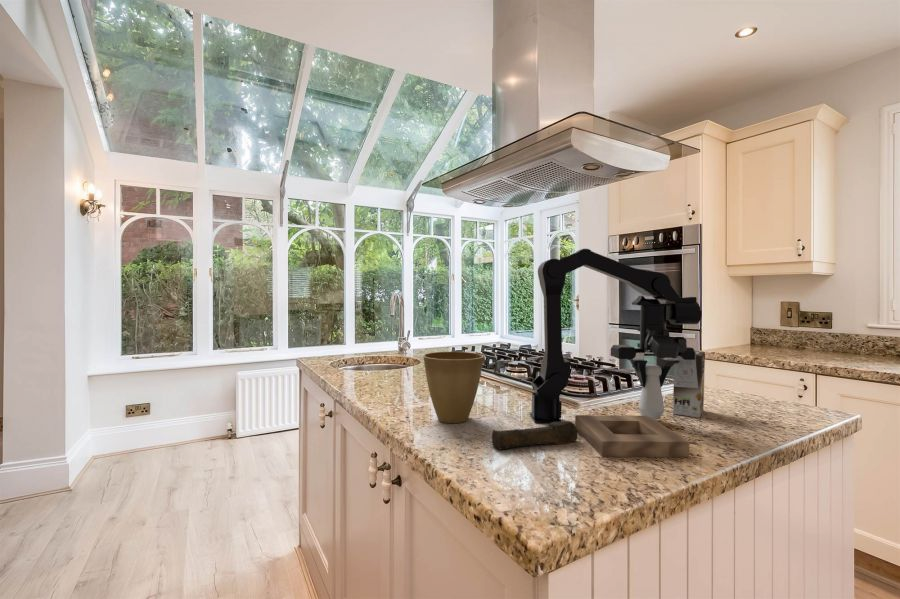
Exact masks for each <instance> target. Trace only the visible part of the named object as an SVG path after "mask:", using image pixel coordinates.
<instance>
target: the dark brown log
mask: <svg viewBox="0 0 900 599" xmlns="http://www.w3.org/2000/svg"><path fill="white" fill-rule="evenodd" d="M491 432H492V433H491V443H492V447H493V448H494V449H495V451H500V450H504V451H507V449H508V448H515V447H516V448H517V447H524V446H533V445H542V444H543V445H544V444H551V445H552V446H553V445H554V446H562V445H567V444H570V443H571V444H572V443H573V442H576V441H577V440H578V430H577V429H576V428H575V423H573V422H572V421H569V420H563V421H561V422H560V421H559V422H552V423H549V425H548V426H542V427H541V426H539V427H532V428H531V427H530V428H524V429H523V428H522V429H509V430H507V429H506V430H494V429H493V430H492V431H491Z"/></svg>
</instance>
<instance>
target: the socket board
mask: <svg viewBox="0 0 900 599" xmlns="http://www.w3.org/2000/svg"><path fill="white" fill-rule="evenodd" d="M574 416H575V417H574V420H575V422H574V425H575V428H576V430H577V433H580V435H581V436H582V437H583V439H585V440H586V441H587V443H588V444H590V446H592V448H593V449H594V450H595V451H596V452H597V453H598V454H599V455H600V457H606V458H607V457H608V458H609V457H610V458H611V457H614V458H617V457H618V458H621V457H623V458H625V457H627V458H628V457H629V458H630V457H631V458H690V442H691V441H689V440H688V439H686V438H684V437H682V436H681V435H679V434H678V433H676V432H675V431H673V430H671V429H670V428H668V426H666V425H663V424H662V423H660V422H659V421H657V420H654V419H652V418H651V417H649V416H642V415H615V414H614V415H611V414H610V415H605V414H602V415H600V414H599V415H598V414H597V415H595V414H592V415H591V414H589V415H588V414H586V415H585V414H583V415H581V414H575V415H574Z"/></svg>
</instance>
